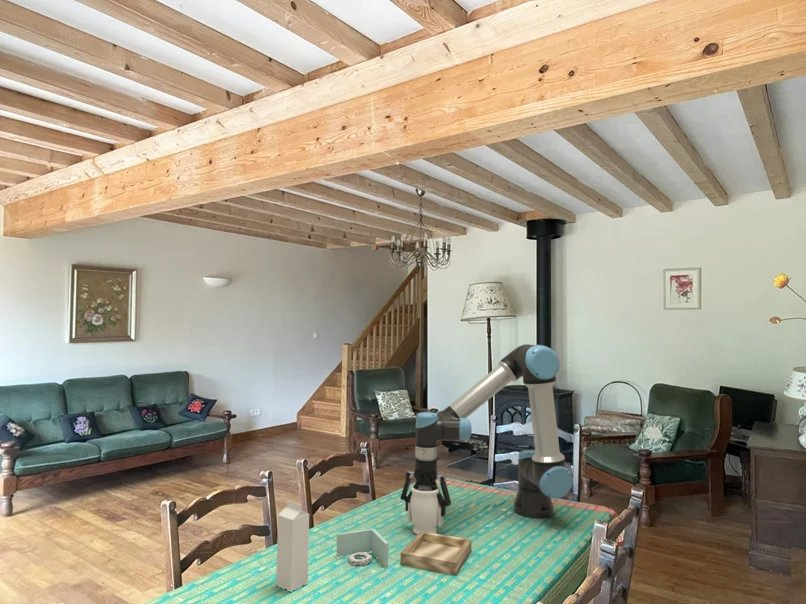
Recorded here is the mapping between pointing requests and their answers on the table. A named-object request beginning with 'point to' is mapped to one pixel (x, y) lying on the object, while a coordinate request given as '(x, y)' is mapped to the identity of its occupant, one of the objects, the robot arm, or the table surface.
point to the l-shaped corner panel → (362, 546)
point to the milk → (292, 547)
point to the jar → (424, 509)
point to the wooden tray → (436, 552)
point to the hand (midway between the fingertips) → (425, 523)
